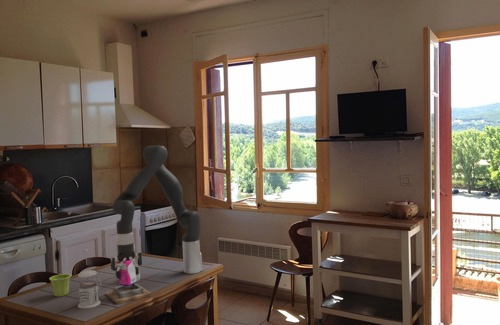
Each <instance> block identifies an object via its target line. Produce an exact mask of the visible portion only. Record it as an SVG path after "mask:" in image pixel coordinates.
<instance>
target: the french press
mask: <svg viewBox="0 0 500 325" xmlns="http://www.w3.org/2000/svg"><path fill="white" fill-rule="evenodd" d="M83 252H84V253H88V252H89V249H88V248H85V249H83ZM87 256H88V255H87V254H85V258H86V259H85V261H86V262H85V263H86V264H88V259H87V258H88V257H87ZM97 274H98V272H97V271H96V270H92V269H85V270H82V271H81V272H80V273H78V274H77V277H78V278H81V279H83V278H84V279H85V278H86V279H87V280H84V281H82V282H79V284H78V285H79V287H78V293H79V295H78V296H79V303H78V305H77V307H78V308H79V309H91V308H94V307H97V306H99V305H101V303H102V301H101V300H99V293H100V292H101V290H102V288H100V285H102V282H101V280H100V278H98V277H95V278H92V279H89V278H91V277H94V276H96V275H97ZM97 280H98V281H99V283H100V285H99V283H98V281H97ZM99 289H100V290H99Z"/></svg>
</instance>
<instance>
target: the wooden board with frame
mask: <svg viewBox="0 0 500 325" xmlns="http://www.w3.org/2000/svg"><path fill="white" fill-rule="evenodd" d="M105 295H106V296H107V297H108V298H109V299H110V300H111V301H112V302H114V304H115V305H120V304H123V303H128V302H131V301H136V300H140V299H144V298H147V297H151V296H152V293H151V292H149V290H147V289H146V288H144V287H143V286H141V285H140V284H138V283H137V282H136V283H134V284H132V285H130V286H123V285H119V286H114V287H112V290H109V291H106V292H105Z"/></svg>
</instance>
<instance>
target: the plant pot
mask: <svg viewBox="0 0 500 325" xmlns="http://www.w3.org/2000/svg"><path fill="white" fill-rule="evenodd" d="M71 277H72V274H71V273H70V274H69V273H62V274H57V275H56V274H55V275H53V276H51V277H49V281H50V283H51V285H52V286H51V287H52V290H53V295H54V296H55V297H63V296H66V295H68V294H69V289H70V279H71Z"/></svg>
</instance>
